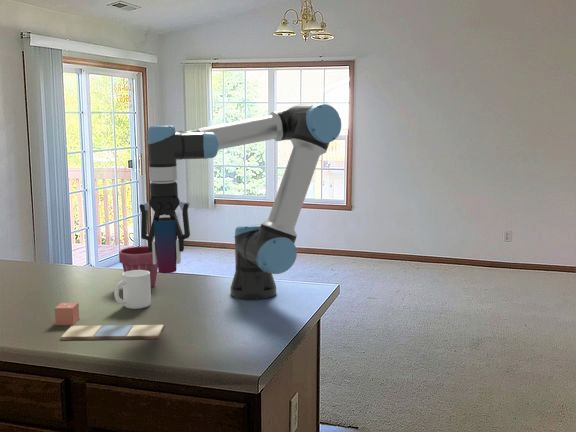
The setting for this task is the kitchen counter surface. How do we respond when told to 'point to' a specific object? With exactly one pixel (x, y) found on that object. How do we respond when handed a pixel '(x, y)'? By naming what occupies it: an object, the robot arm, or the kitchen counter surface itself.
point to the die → (67, 313)
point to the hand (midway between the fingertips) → (167, 262)
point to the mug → (134, 289)
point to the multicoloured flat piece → (113, 332)
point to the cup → (165, 244)
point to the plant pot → (139, 261)
